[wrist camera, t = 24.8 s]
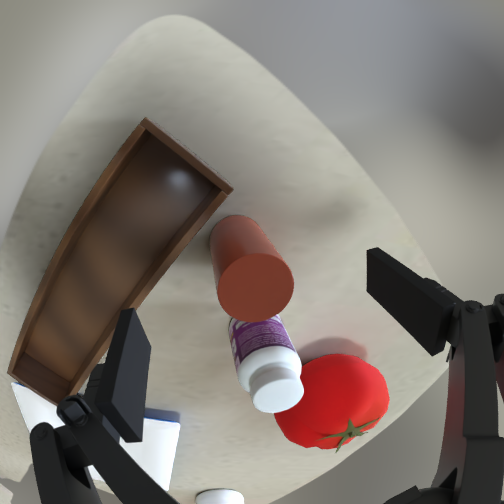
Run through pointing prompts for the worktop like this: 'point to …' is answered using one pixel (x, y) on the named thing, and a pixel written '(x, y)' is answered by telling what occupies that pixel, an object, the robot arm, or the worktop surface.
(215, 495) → the vodka
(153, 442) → the plate
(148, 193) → the wooden tray
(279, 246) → the worktop surface
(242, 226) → the spice tin
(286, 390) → the pill bottle
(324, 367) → the tomato
